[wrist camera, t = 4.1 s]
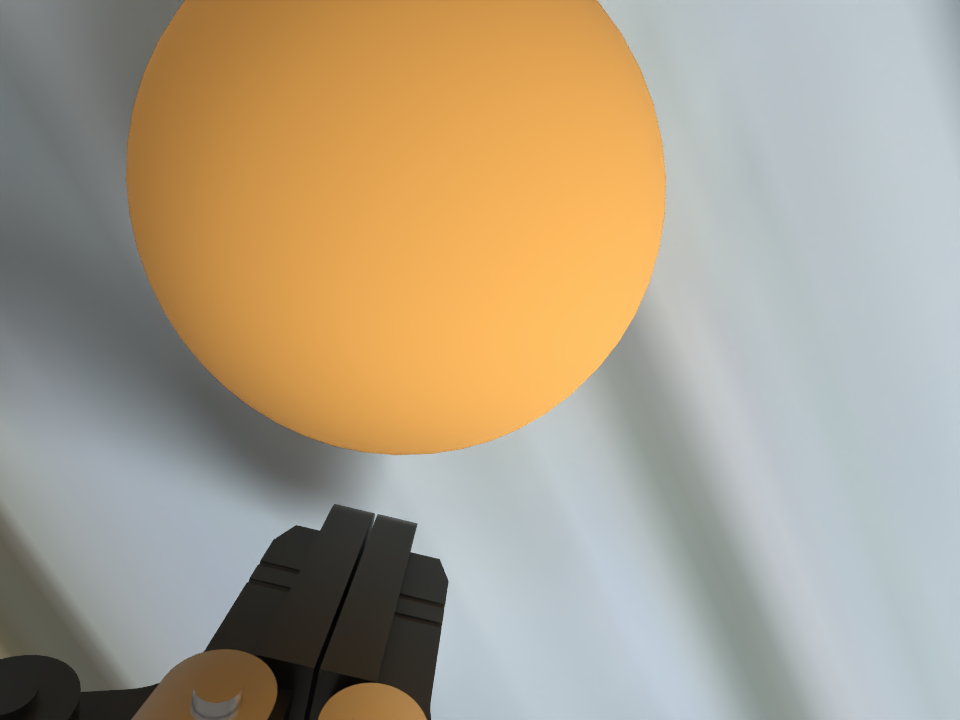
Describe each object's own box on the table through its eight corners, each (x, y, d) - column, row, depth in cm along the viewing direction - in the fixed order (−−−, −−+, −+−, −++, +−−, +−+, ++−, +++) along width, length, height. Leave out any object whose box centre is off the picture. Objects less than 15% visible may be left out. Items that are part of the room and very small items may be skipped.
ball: (671, 51, 10) (901, -93, 4) (553, 400, 12) (597, 637, 6) (291, -64, 10) (-36, -388, 4) (233, 311, 11) (-46, 470, 6)
